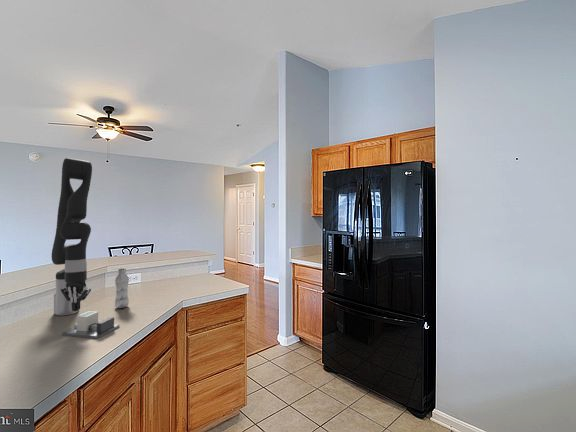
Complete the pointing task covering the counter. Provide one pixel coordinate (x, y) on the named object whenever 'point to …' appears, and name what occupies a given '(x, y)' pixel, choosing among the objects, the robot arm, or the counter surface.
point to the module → (86, 320)
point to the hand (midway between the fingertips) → (76, 310)
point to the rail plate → (87, 333)
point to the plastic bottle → (121, 289)
